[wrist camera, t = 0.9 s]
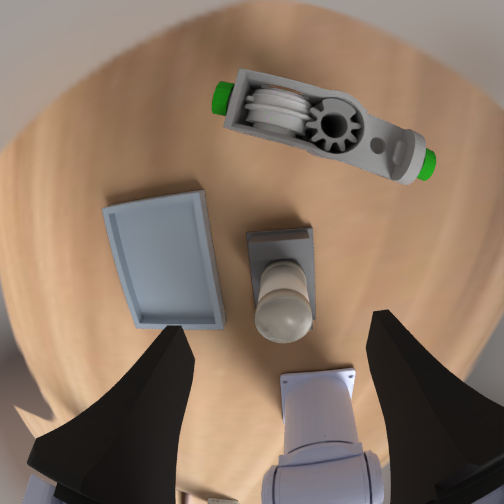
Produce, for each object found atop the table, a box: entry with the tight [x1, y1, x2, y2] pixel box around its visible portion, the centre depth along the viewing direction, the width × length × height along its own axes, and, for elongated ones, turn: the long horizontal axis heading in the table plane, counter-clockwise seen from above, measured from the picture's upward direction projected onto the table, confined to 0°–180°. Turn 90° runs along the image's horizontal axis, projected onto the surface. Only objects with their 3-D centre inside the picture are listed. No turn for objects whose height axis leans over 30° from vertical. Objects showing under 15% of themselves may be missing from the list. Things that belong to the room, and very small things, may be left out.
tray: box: [102, 189, 226, 330], centre depth 24 cm, size 12×9×2 cm
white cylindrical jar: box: [255, 259, 312, 343], centre depth 20 cm, size 4×4×6 cm
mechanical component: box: [212, 68, 436, 185], centre depth 15 cm, size 3×10×10 cm, turn 76°
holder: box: [246, 227, 315, 330], centre depth 23 cm, size 8×5×2 cm, turn 7°
